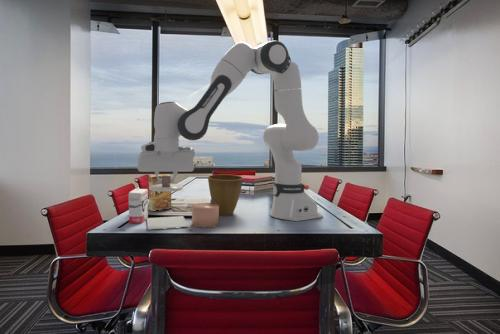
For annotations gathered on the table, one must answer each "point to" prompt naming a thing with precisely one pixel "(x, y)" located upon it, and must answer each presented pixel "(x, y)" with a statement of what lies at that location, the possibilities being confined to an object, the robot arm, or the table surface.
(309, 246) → the table surface
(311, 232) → the table surface
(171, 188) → the lid
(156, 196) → the candy box
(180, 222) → the mat
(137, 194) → the ink box
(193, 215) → the pink rounded cylinder
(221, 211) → the plant pot
